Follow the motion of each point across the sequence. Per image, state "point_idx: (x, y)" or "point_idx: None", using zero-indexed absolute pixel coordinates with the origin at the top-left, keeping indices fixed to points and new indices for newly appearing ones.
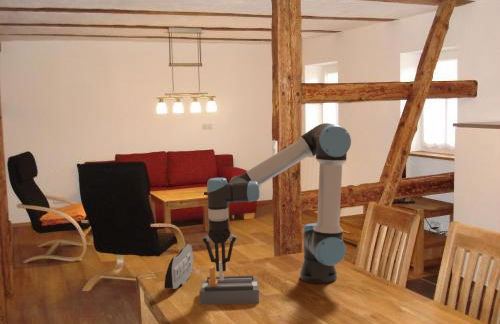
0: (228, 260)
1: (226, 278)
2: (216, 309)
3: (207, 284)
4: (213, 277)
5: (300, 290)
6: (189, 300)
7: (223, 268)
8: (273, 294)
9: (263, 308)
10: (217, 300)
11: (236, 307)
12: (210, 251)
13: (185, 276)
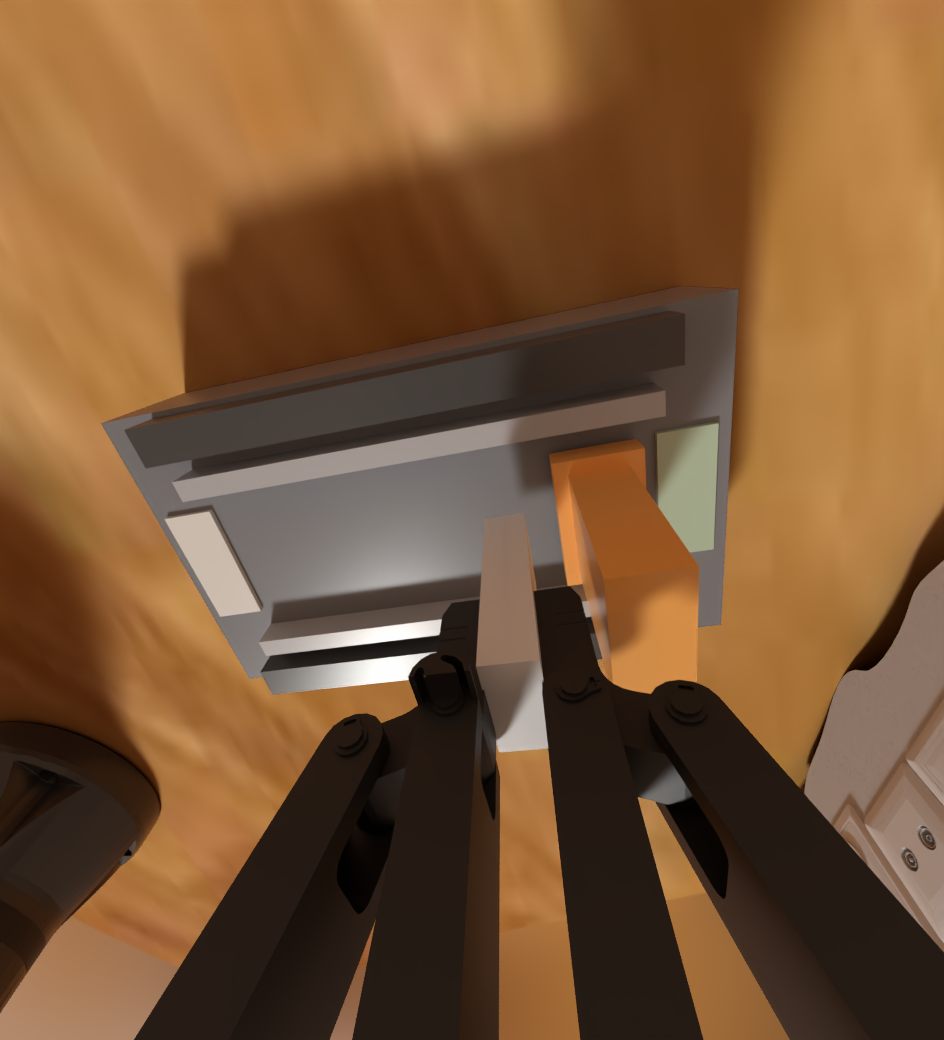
0: (347, 732)
1: None
2: (495, 176)
3: None
4: (601, 506)
5: (45, 633)
6: (790, 389)
7: (471, 626)
8: (168, 563)
9: (87, 270)
10: (516, 324)
11: (324, 263)
12: (884, 1010)
13: (852, 752)
